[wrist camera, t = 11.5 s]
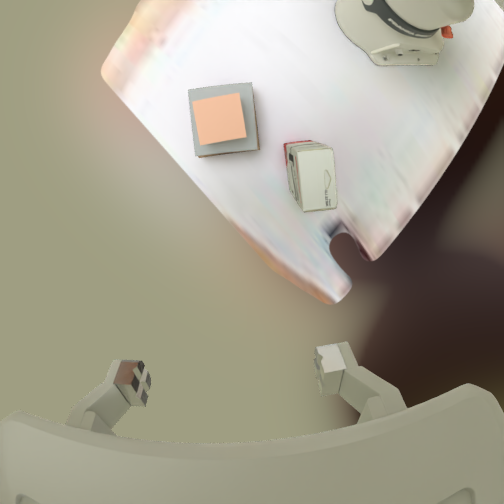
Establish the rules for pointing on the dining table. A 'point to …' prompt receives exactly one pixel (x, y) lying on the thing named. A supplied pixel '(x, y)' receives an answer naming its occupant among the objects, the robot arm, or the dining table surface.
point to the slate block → (248, 116)
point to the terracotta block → (219, 118)
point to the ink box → (311, 175)
